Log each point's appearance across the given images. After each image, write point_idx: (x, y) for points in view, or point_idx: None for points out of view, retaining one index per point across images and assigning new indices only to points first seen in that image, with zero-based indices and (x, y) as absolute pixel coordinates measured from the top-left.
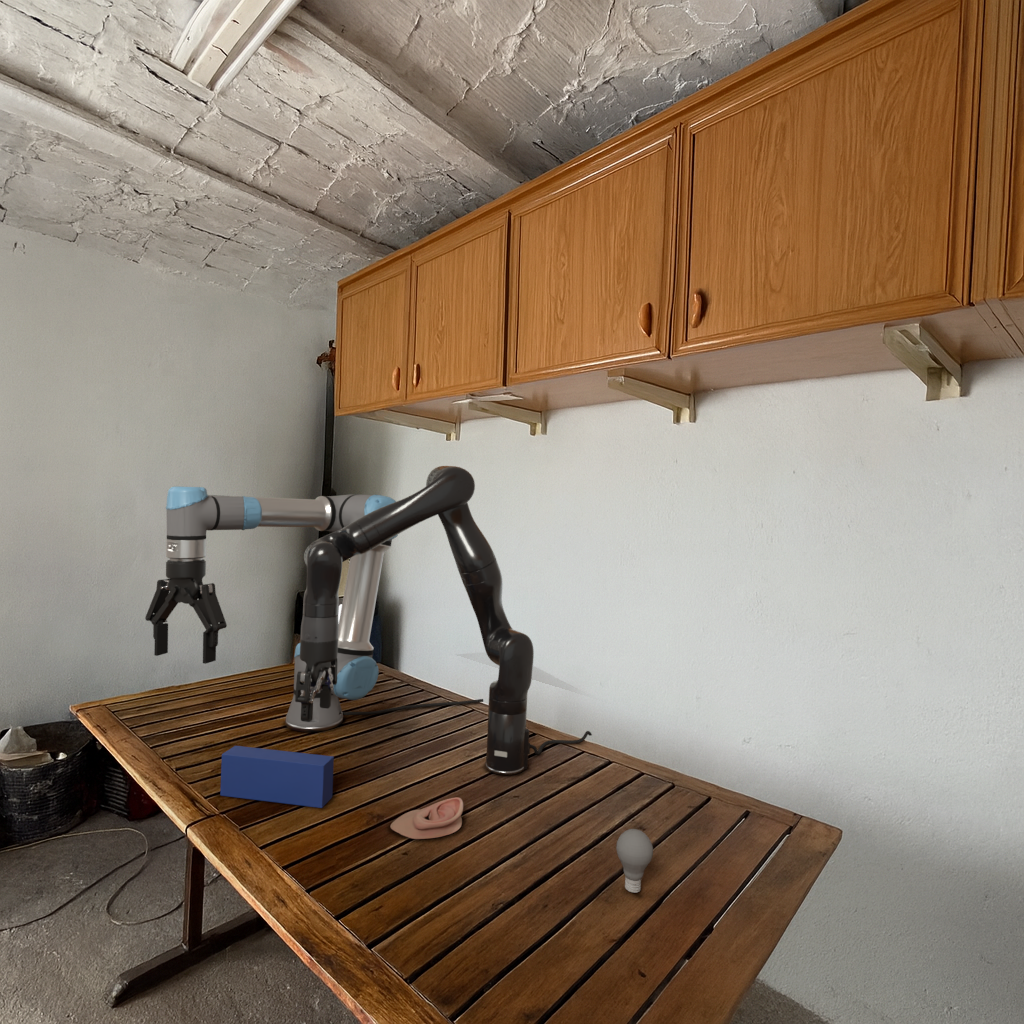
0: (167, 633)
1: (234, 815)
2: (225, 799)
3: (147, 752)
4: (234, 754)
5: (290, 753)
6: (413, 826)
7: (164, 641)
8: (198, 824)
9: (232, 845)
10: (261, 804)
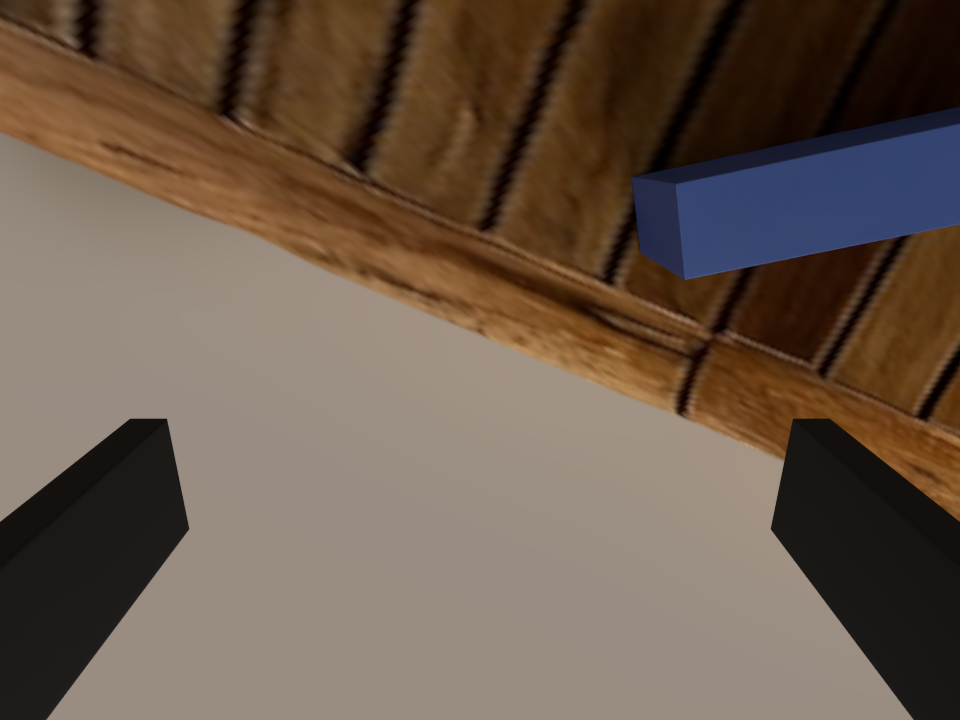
0: (11, 564)
1: (760, 326)
2: None
3: (122, 98)
4: (734, 259)
5: (955, 144)
6: None
7: (98, 539)
8: (699, 400)
9: None
10: None
